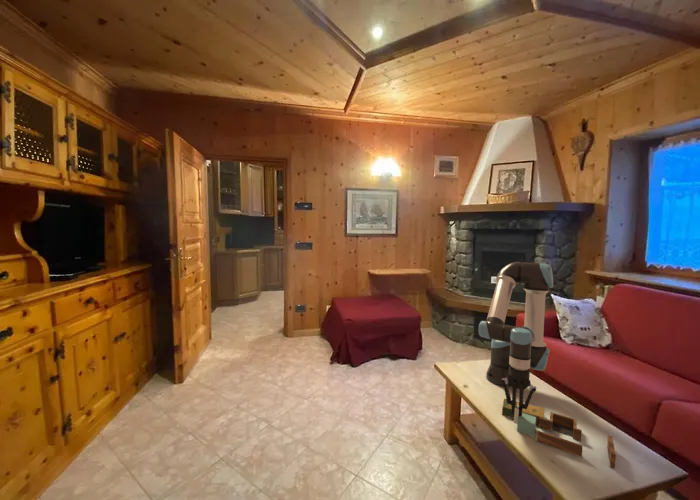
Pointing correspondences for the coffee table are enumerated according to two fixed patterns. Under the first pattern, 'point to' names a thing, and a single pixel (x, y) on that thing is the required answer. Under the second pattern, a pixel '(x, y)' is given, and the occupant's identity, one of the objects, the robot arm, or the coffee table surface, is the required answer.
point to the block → (526, 424)
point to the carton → (523, 411)
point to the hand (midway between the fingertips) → (516, 421)
